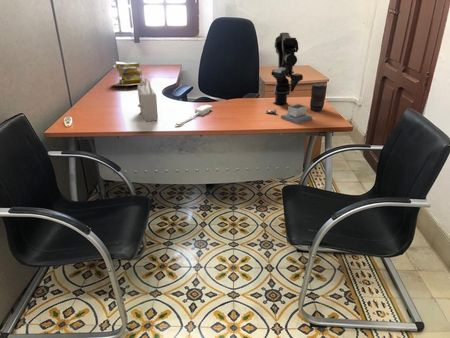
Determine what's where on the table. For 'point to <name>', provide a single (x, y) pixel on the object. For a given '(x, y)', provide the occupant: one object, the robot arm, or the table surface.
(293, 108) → the box
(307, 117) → the stand
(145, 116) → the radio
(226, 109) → the table surface
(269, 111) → the loose bolt
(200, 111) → the white brush
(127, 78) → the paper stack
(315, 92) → the camera lens
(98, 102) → the table surface
